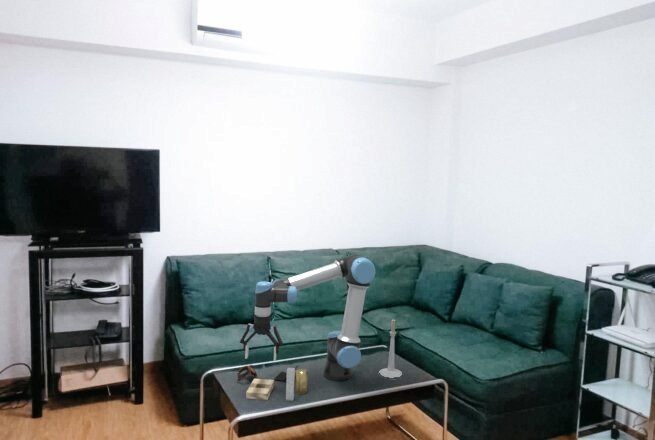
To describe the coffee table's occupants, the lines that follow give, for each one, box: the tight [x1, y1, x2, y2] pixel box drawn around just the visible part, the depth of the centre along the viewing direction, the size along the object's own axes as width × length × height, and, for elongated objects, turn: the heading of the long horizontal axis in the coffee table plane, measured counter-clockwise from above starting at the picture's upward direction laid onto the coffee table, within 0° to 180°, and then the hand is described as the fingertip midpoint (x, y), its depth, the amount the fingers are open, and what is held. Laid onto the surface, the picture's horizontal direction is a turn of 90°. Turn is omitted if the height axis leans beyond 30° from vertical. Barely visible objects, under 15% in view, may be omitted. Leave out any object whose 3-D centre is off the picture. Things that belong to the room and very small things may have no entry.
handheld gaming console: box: [273, 365, 298, 383], centre depth 256 cm, size 12×7×10 cm
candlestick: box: [378, 318, 403, 378], centre depth 265 cm, size 13×13×30 cm
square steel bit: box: [285, 367, 296, 402], centre depth 232 cm, size 3×3×14 cm
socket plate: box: [245, 378, 275, 401], centre depth 238 cm, size 10×16×3 cm, turn 175°
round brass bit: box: [295, 368, 309, 395], centre depth 241 cm, size 6×6×10 cm
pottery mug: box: [236, 364, 259, 381], centre depth 253 cm, size 12×10×8 cm
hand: (260, 359), depth 238 cm, fingers open, 13 cm apart
